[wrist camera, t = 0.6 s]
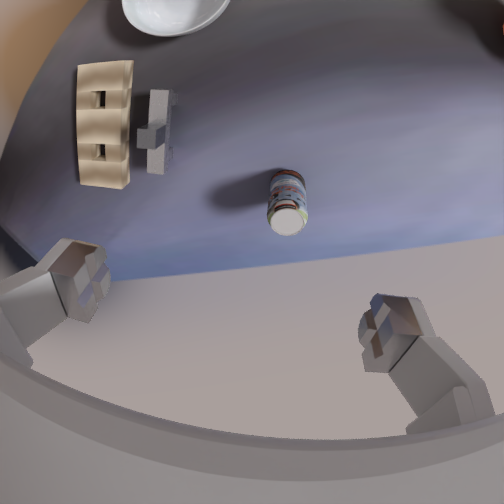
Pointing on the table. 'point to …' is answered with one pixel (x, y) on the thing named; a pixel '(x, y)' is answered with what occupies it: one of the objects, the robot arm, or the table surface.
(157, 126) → the gray u-shaped bracket
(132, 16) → the cereal bowl
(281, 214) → the beverage can
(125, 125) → the beige flat rectangular block
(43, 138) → the table surface
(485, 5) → the table surface
